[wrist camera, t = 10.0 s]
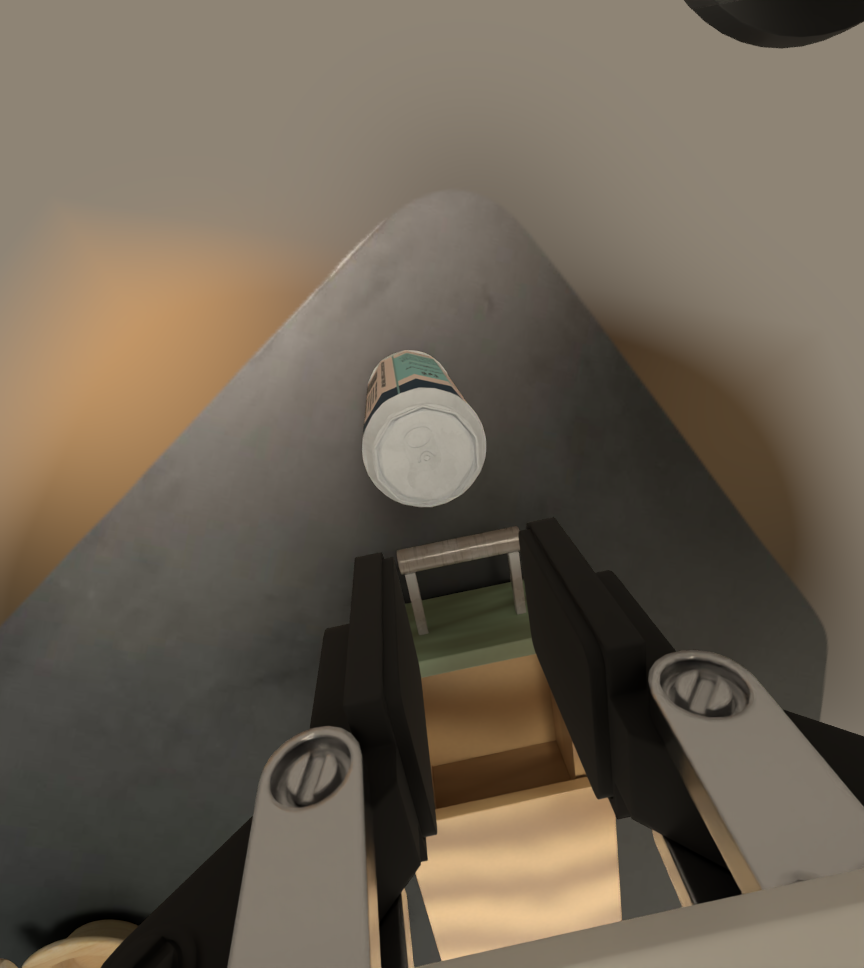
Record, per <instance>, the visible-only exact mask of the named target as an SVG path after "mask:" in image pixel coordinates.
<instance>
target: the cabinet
mask: <svg viewBox="0 0 864 968" xmlns="http://www.w3.org/2000/svg"><path fill="white" fill-rule="evenodd" d="M435 812H436V821H437V835H433V836H428V837H426V843H427V855H428V861H424V862H421V866H420V867H419V868H418V870H417V871H416V876H417V880H418V883H419V887H420V890H421V893H422V897H423V900H424V903H425V907H426V910H427V913H428V917H429V920H430V924H431V927H432V930H433V934H434V937H435V940H436V944H437V947H438V950H439V954H440V957H441V961H445V960H449V959H454V958H458V957H462V956H467V955H471V954H476V953H480V952H485V951H489V950H494V949H498V948H503V947H507V946H512V945H516V944H521V943H525V942H530V941H534V940H539V939H543V938H548V937H552V936H556V935H561V934H565V933H570V932H574V931H579V930H583V929H588V928H592V927H597V926H601V925H606V924H610V923H615V922H619V921H622V914H621V898H620V882H619V866H618V850H617V834H616V818H615V813H614V811H613V809H612V806H611V804H610V802H609V800H608V798H604V799H599V800H598V799H597V798H596V796H595V794H594V792H593V790H592V787H591V785H590V782H589V780H588V778H587V777H582V778H578V779H573V780H568V781H564V782H559V783H555V784H550V785H545V786H541V787H536V788H531V789H527V790H522V791H518V792H513V793H508V794H504V795H499V796H494V797H490V798H485V799H480V800H476V801H471V802H467V803H462V804H457V805H453V806H448V807H443V808H439V809H435Z"/></svg>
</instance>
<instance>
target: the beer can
mask: <svg viewBox="0 0 864 968" xmlns="http://www.w3.org/2000/svg"><path fill="white" fill-rule="evenodd" d="M362 454H363V462H364V465H365V468H366V470H367V473H368V475H369V477H370V478H371V480H372V481H373V483H374V484H375V486H376V487H377V488H378V489H379V490H380V491H382V492H383V493H384V494H385V495H386V496H388V497H389V498H391V499H393V500H394V501H397V502H399V503H401V504H405V505H411V506H417V507H433V506H438V505H441V504H444V503H447V502H449V501H451V500H453V499H455V498H456V497H458V496H460V495H461V494H463V493H464V492H465V491H466V490H467V489H468V488H469V487H470V486H471V485H472V484H473V482H474V481H475V479H476V478H477V476H478V475H479V473H480V472H481V469H482V466H483V463H484V460H485V455H486V437H485V433H484V429H483V425H482V423H481V421H480V419H479V418H478V416H477V414H476V413H475V411H474V410H473V409H472V408H471V407H470V406H469V404H468V403H467V402H466V401H465V399H464V398H463V396H462V395H461V393H460V392H459V391H458V389H457V388H456V386H455V385H454V383H453V382H452V380H451V379H450V378H449V376H448V374H447V372H446V370H445V369H444V368H443V367H442V365H441V364H440V363H439V362H438V361H437V360H436V359H434V358H433V357H432V356H430V355H428V354H426V353H422V352H419V351H412V350H411V351H410V350H405V351H400V352H397V353H394V354H392V355H390V356H388V357H386V358H385V359H383V360H382V361H381V362H380V363H379V364H378V365H377V366H376V368H375V369H374V371H373V373H372V375H371V377H370V379H369V383H368V389H367V400H366V410H365V421H364V431H363V442H362Z"/></svg>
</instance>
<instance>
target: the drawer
mask: <svg viewBox="0 0 864 968" xmlns="http://www.w3.org/2000/svg"><path fill="white" fill-rule="evenodd" d="M518 533H519V528H518V527H517V526H513V527H508V528H503V529H498V530H493V531H488V532H484V533H479V534H474V535H469V536H464V537H459V538H454V539H449V540H444V541H440V542H435V543H430V544H425V545H420V546H415V547H410V548H405V549H400V550H397V560H398V565H399V569H400V573H401V574H402V575H403V574H405V577H406V582H407V586H408V590H409V595H410V599H411V603H407V604H405V607H406V611H407V615H408V619H409V624H410V628H411V632H412V636H413V641H414V645H415V649H416V653H417V657H418V662H419V667H420V673H421V681H422V690H423V699H424V709H425V718H426V727H427V737H428V746H429V756H430V765H431V774H432V784H433V793H434V802H435V809H439V808H443V807H448V806H453V805H457V804H462V803H467V802H471V801H476V800H480V799H485V798H490V797H494V796H499V795H504V794H508V793H513V792H518V791H522V790H527V789H531V788H536V787H541V786H545V785H550V784H555V783H559V782H564V781H568V780H573V779H578V778H582V777H587V775H586V773H585V770H584V768H583V766H582V763H581V761H580V758H579V756H578V754H577V751H576V749H575V746H574V744H573V742H572V739H571V737H570V735H569V732H568V730H567V727H566V725H565V723H564V720H563V718H562V715H561V713H560V711H559V708H558V706H557V703H556V701H555V699H554V696H553V694H552V691H551V689H550V687H549V684H548V682H547V679H546V677H545V675H544V672H543V670H542V667H541V665H540V663H539V660H538V658H537V655H536V653H535V650H534V646H533V642H532V638H531V631H530V623H529V615H528V607H527V600H526V592H525V584H524V579H523V580H522V573H521V566H520V558H519V552H518V551H520V545H519V537H518ZM505 553H507V556H508V564H509V571H510V578H511V582H509V583H504V584H499V585H494V586H490V587H485V588H480V589H475V590H470V591H465V592H460V593H456V594H451V595H446V596H441V597H436V598H431V599H427V600H422V599H421V594H420V590H419V585H418V581H417V576H416V572H417V571H422V570H427V569H432V568H437V567H442V566H447V565H451V564H456V563H461V562H466V561H471V560H476V559H481V558H486V557H490V556H495V555H500V554H505Z"/></svg>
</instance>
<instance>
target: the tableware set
mask: <svg viewBox="0 0 864 968" xmlns="http://www.w3.org/2000/svg"><path fill="white" fill-rule="evenodd" d="M137 927H138V926H137V925H135V924H132V923H130V922H126V921H120V920H112V919H111V920H99V921H93V922H90V923H87V924H85V925H83V926H81V927H79V928H78V929H76V930H75V931H74V932H73V933H72V934H70V935H69V936H68V937H67V938H66V939H63V940H59V941H56V942H54V943H51V944H49V945H47V946H44V947H43V948H41V949H39V950H38V951H36V952H35V953H33V954H32V955H31V956H30V957H29V958H28V959H27V960H26V961H25V962H24V964H23V965H22V967H21V968H101V966H102V965H103V963H104V962H105V961H106V960H107V958H108V957H109V956H110V955H111V954H112V953H113V952H114V951H115V949H116V948H117V947H118V946H119V945H120V944H121V943H122V942H123V941H124V940H125V939H126V938H127V937H128V936H129V935H130V934H131V933H132V932H133V931H134V930H135V929H136V928H137ZM411 944H412V943H411ZM0 968H18V967H17V966H16V965H15V964H14V963H12V962H11V961H9V960H7V959H0Z"/></svg>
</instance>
